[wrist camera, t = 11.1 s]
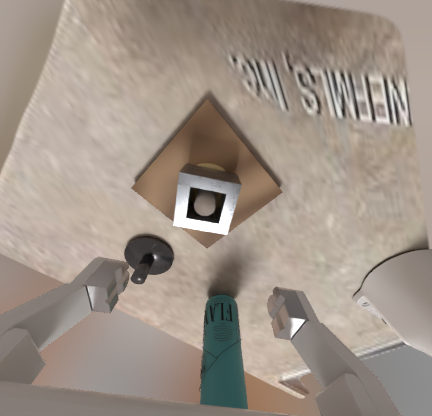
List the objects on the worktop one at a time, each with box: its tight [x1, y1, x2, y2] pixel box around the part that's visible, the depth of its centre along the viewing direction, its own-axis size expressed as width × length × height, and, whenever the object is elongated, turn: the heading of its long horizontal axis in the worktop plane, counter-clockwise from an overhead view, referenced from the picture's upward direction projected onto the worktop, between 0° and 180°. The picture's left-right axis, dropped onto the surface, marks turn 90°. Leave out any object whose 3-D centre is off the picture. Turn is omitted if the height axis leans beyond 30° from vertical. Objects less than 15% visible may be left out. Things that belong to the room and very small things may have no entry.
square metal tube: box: [174, 163, 242, 235], centre depth 18 cm, size 6×6×4 cm
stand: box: [124, 236, 174, 284], centre depth 25 cm, size 8×8×5 cm
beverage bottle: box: [200, 295, 248, 409], centre depth 24 cm, size 6×7×20 cm
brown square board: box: [132, 99, 282, 248], centre depth 19 cm, size 14×14×6 cm
